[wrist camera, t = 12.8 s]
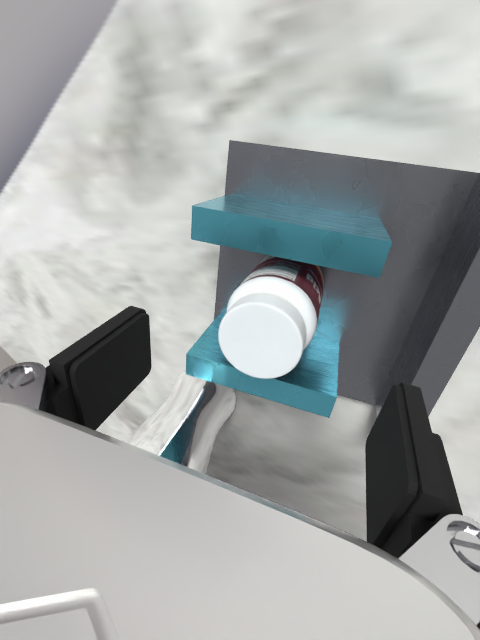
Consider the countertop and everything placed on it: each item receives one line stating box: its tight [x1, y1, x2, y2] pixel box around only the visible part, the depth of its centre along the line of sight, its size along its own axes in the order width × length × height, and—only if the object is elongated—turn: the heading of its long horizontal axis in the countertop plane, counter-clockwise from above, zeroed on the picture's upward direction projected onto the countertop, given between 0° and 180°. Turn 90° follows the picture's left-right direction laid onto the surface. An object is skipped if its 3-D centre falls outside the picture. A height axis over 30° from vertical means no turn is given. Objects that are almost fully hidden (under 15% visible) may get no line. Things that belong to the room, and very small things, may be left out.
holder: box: [186, 140, 480, 418], centre depth 19 cm, size 16×15×7 cm
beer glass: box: [123, 370, 236, 474], centre depth 23 cm, size 7×7×15 cm
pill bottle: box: [218, 255, 324, 379], centre depth 18 cm, size 5×5×8 cm
